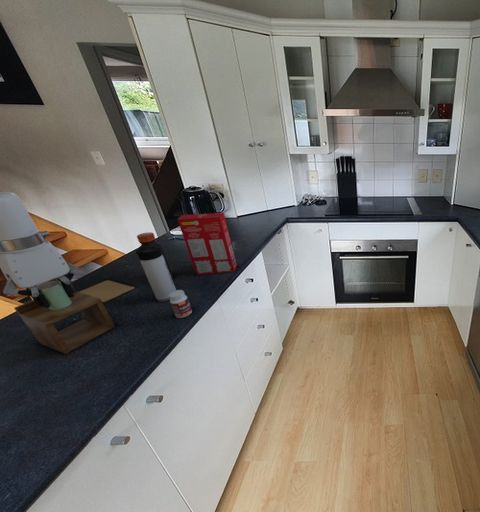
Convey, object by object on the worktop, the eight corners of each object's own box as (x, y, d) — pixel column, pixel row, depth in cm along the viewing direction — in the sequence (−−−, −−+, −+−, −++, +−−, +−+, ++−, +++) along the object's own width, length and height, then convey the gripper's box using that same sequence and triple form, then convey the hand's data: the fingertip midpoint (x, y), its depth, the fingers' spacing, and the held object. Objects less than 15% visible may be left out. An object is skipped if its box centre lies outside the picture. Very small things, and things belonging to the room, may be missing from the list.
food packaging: (237, 266, 122) (223, 212, 111) (234, 272, 118) (220, 216, 107) (200, 269, 119) (182, 214, 108) (196, 275, 115) (177, 219, 103)
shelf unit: (40, 343, 79) (13, 307, 73) (91, 318, 89) (71, 285, 83) (65, 354, 76) (40, 317, 70) (115, 326, 86) (97, 292, 80)
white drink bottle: (154, 278, 112) (136, 233, 103) (174, 274, 115) (158, 230, 106) (151, 286, 107) (131, 239, 98) (172, 282, 110) (154, 236, 101)
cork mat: (76, 294, 101) (75, 293, 101) (107, 280, 110) (107, 280, 110) (104, 302, 97) (103, 301, 97) (135, 288, 105) (134, 287, 105)
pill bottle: (184, 319, 90) (176, 298, 86) (172, 317, 90) (163, 296, 87) (195, 310, 94) (188, 289, 90) (183, 308, 95) (175, 288, 91)
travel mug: (151, 300, 98) (129, 251, 90) (168, 290, 104) (149, 243, 95) (165, 303, 97) (144, 253, 88) (181, 293, 103) (163, 245, 94)
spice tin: (44, 308, 76) (30, 287, 73) (66, 299, 80) (54, 279, 77) (54, 312, 75) (41, 290, 72) (76, 302, 79) (64, 282, 76)
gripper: (56, 229, 77) (86, 283, 85) (-42, 253, 63) (5, 316, 71) (73, 232, 75) (102, 288, 83) (-25, 258, 60) (22, 322, 69)
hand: (57, 300), depth 77 cm, fingers closed on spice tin, 4 cm apart
